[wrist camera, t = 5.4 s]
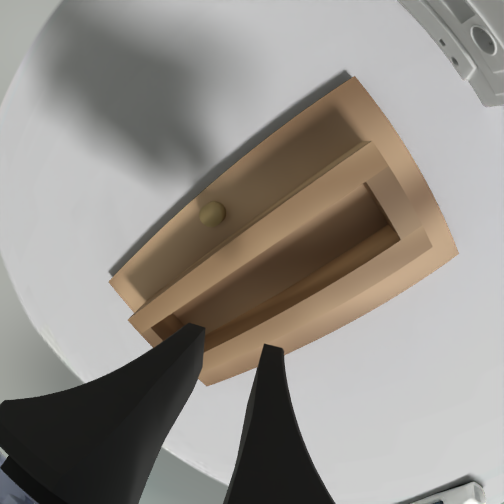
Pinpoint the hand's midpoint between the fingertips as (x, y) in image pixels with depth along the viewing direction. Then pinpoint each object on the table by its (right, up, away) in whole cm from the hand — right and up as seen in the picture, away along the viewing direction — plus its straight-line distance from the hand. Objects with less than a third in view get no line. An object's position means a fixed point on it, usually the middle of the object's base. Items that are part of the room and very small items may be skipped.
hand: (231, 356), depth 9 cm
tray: (+1, +3, +7) cm, 7 cm away
